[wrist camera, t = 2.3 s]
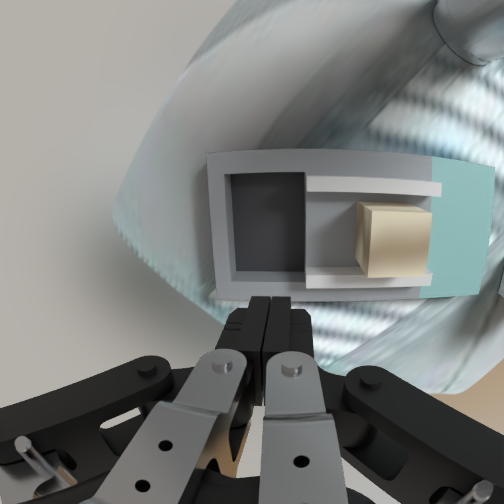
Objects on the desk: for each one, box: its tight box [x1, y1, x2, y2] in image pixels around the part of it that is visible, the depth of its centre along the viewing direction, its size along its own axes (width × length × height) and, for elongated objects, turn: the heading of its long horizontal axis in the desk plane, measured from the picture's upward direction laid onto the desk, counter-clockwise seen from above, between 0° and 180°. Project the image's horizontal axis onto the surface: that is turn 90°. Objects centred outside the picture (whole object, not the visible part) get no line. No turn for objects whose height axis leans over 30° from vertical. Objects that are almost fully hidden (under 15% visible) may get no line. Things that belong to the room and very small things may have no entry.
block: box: [355, 202, 432, 278], centre depth 21 cm, size 5×5×5 cm
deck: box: [206, 149, 495, 301], centre depth 24 cm, size 14×29×5 cm, turn 93°
